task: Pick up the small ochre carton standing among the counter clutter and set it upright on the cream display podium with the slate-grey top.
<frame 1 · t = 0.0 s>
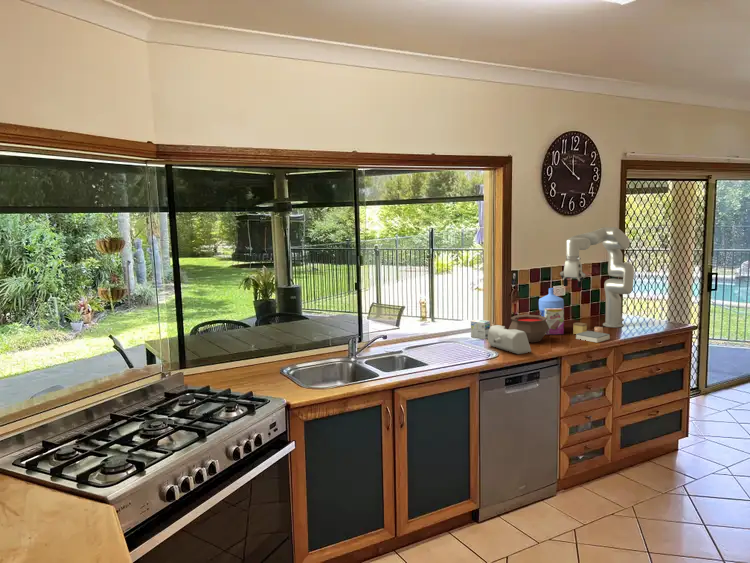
hand: (572, 286, 325), 31 cm above the worktop, tool pointing down, fingers open, 9 cm apart
light bulb box: (480, 337, 337), on the worktop
water jug: (551, 330, 348), on the worktop
candy bar box: (554, 334, 337), on the worktop
tank: (505, 350, 304), on the worktop
brown pot: (529, 340, 326), on the worktop
podium: (592, 338, 321), on the worktop
beige egg shape: (598, 335, 330), on the worktop
carton: (579, 334, 334), on the worktop
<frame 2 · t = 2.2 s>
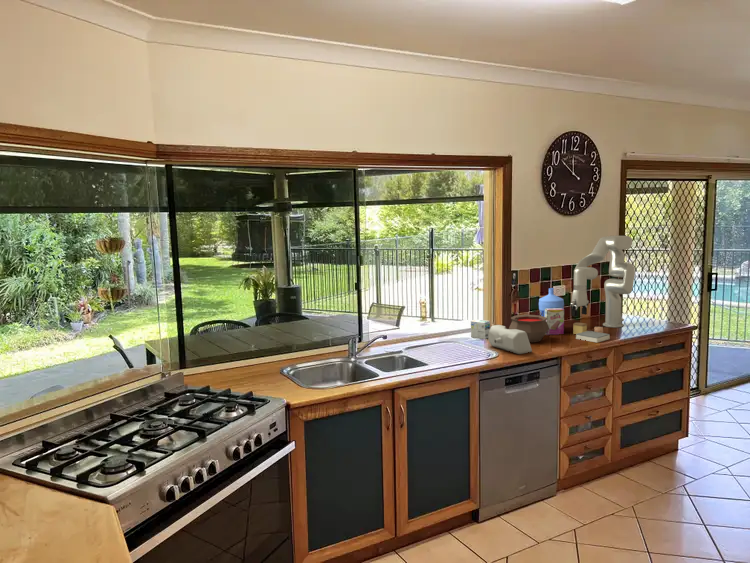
hand: (579, 315, 332), 12 cm above the worktop, tool pointing down, fingers open, 9 cm apart
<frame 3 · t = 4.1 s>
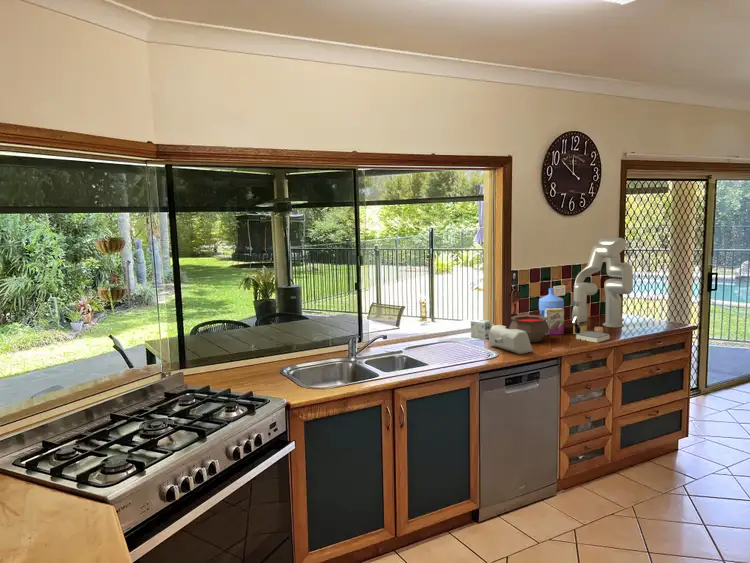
hand: (579, 332, 333), 1 cm above the worktop, tool pointing down, fingers closed on carton, 4 cm apart
carton: (579, 334, 334), on the worktop, touching gripper
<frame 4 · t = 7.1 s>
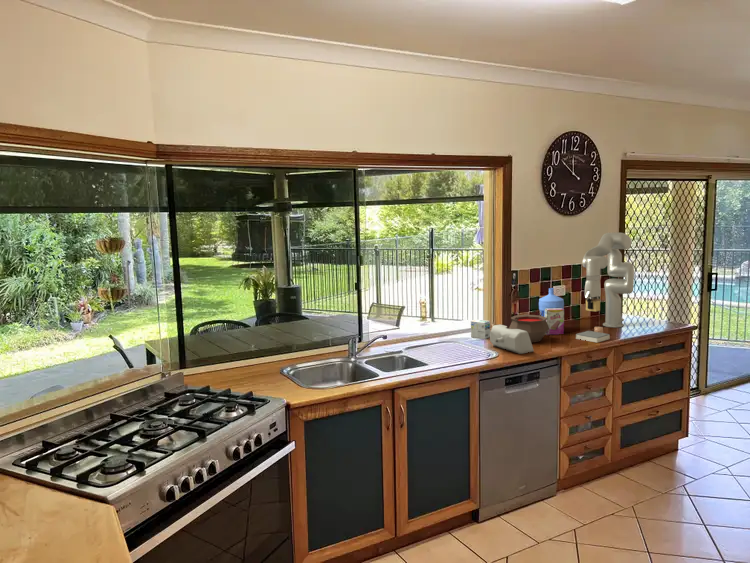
hand: (592, 308, 319), 19 cm above the worktop, tool pointing down, fingers closed on carton, 4 cm apart
carton: (592, 310, 319), point 18 cm above the worktop, touching gripper
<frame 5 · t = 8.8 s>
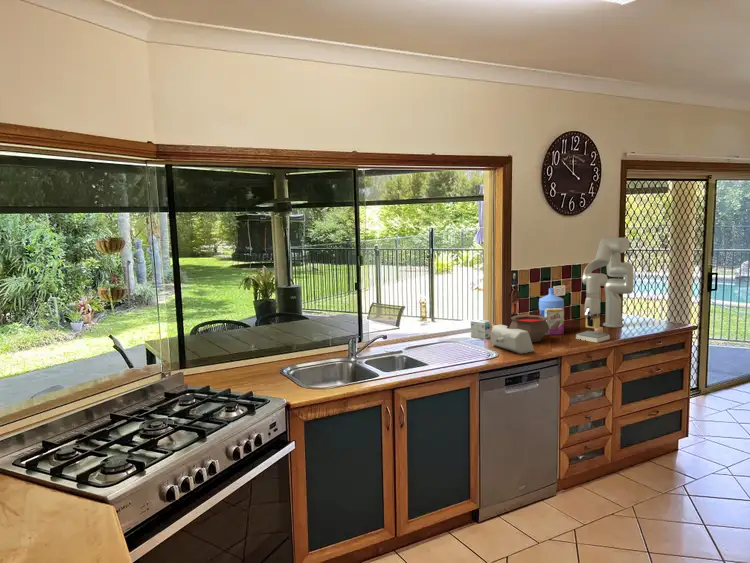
hand: (592, 325, 320), 9 cm above the worktop, tool pointing down, fingers closed on carton, 4 cm apart
carton: (592, 327, 320), point 7 cm above the worktop, touching gripper
when the fingers open (5 cm above the worktop, at t = 10.3 s): carton stays where it is, resting on podium.
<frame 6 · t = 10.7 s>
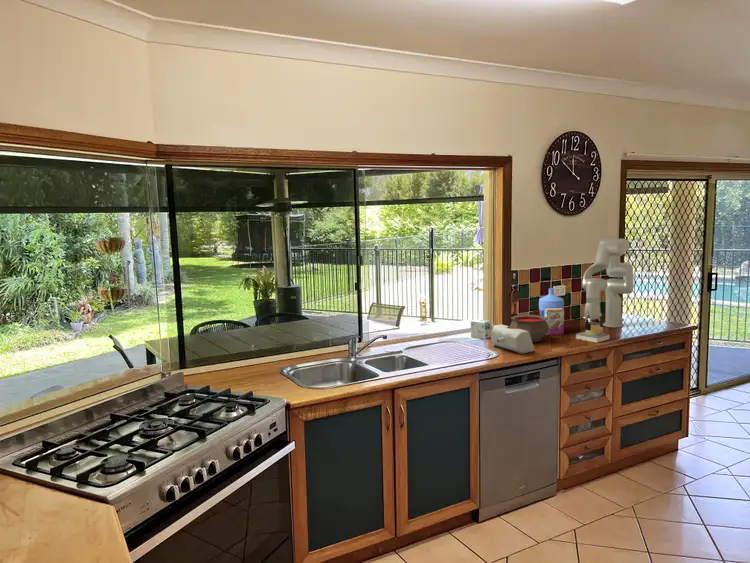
hand: (592, 328, 320), 6 cm above the worktop, tool pointing down, fingers open, 9 cm apart
carton: (592, 334, 321), point 3 cm above the worktop, touching podium
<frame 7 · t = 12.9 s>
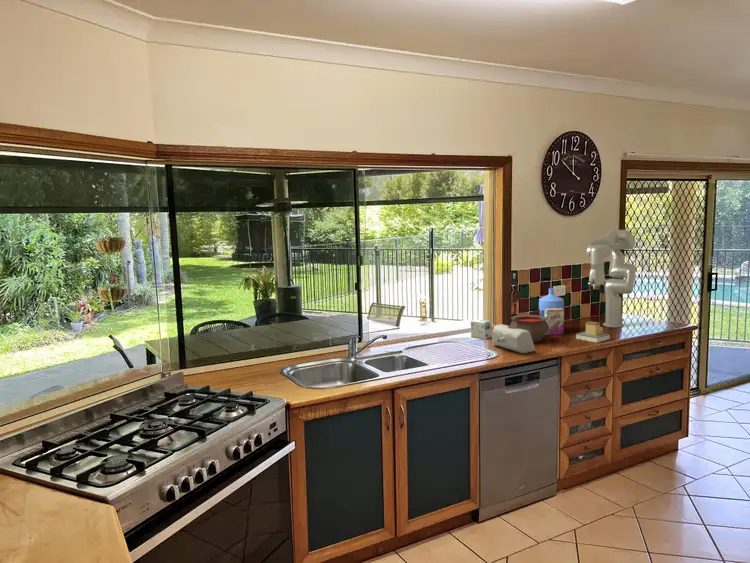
hand: (597, 294, 326), 26 cm above the worktop, tool pointing down, fingers open, 9 cm apart
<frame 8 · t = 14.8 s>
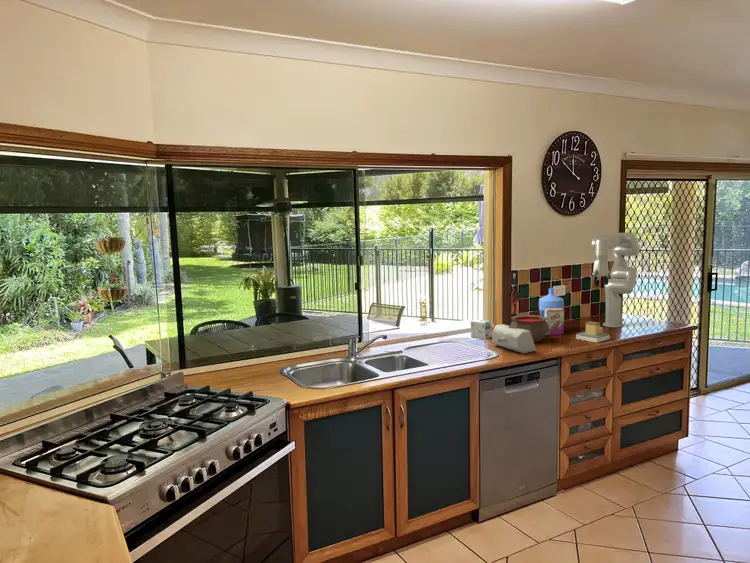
hand: (601, 285, 332), 30 cm above the worktop, tool pointing down, fingers open, 9 cm apart
at the end: carton inside the target area on the podium (0.1 cm from its centre), point 3.0 cm above the podium's base; carton tilted 0°; the gripper is holding nothing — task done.
